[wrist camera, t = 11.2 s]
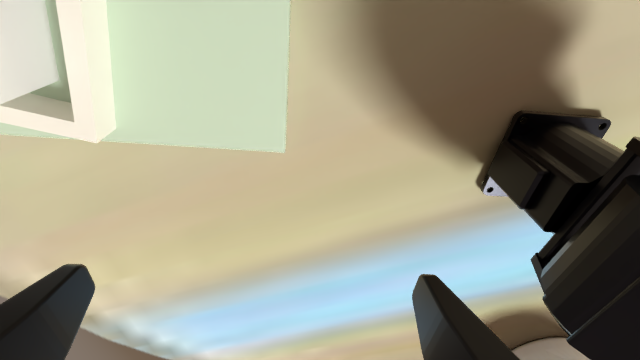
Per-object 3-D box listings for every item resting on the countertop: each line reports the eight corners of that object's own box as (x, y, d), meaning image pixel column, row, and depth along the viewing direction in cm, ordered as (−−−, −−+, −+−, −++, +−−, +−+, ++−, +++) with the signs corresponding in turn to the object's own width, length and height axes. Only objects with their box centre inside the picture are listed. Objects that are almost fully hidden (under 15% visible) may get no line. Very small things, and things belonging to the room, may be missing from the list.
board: (296, -183, 12) (296, -194, 12) (285, 145, 21) (284, 152, 20) (-265, -268, 11) (-313, -289, 10) (-35, 124, 19) (-51, 131, 18)
